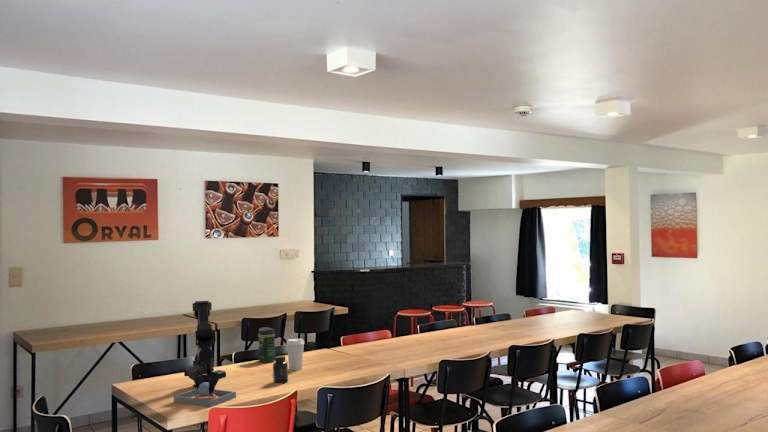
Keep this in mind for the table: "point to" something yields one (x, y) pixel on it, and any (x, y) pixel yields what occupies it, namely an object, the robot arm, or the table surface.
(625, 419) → the table surface
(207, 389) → the ball
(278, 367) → the supplement bottle
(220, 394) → the grey rectangular frame
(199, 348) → the robot arm
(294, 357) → the coffee cup
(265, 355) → the coffee jar
